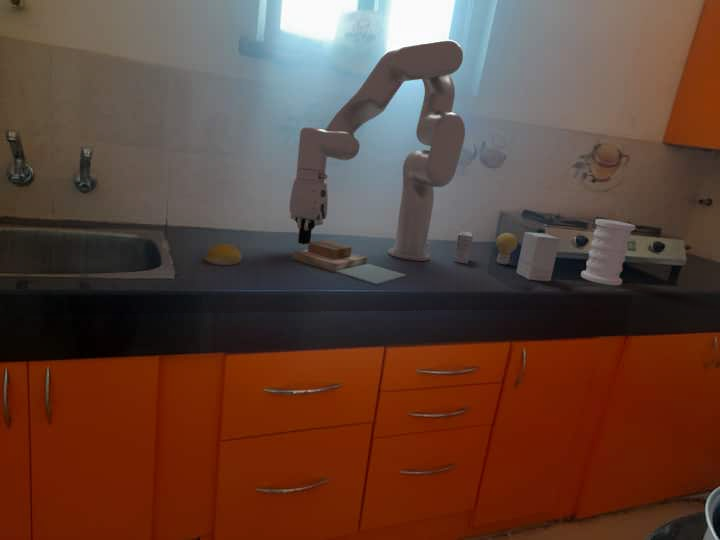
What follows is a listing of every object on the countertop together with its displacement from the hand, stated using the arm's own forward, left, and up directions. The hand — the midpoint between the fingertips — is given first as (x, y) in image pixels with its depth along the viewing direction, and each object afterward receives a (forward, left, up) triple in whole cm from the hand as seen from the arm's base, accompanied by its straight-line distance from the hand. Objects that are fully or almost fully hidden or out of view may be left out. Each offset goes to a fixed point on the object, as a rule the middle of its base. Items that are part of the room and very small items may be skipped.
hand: (304, 243), depth 137 cm
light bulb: (-51, +39, -3) cm, 65 cm away
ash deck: (0, +9, -3) cm, 10 cm away
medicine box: (-41, +29, -3) cm, 51 cm away
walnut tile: (0, +9, -1) cm, 9 cm away
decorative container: (-63, +67, -3) cm, 92 cm away
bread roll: (+24, -5, -4) cm, 25 cm away
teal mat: (0, +23, -3) cm, 23 cm away
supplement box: (-43, +51, -3) cm, 67 cm away
